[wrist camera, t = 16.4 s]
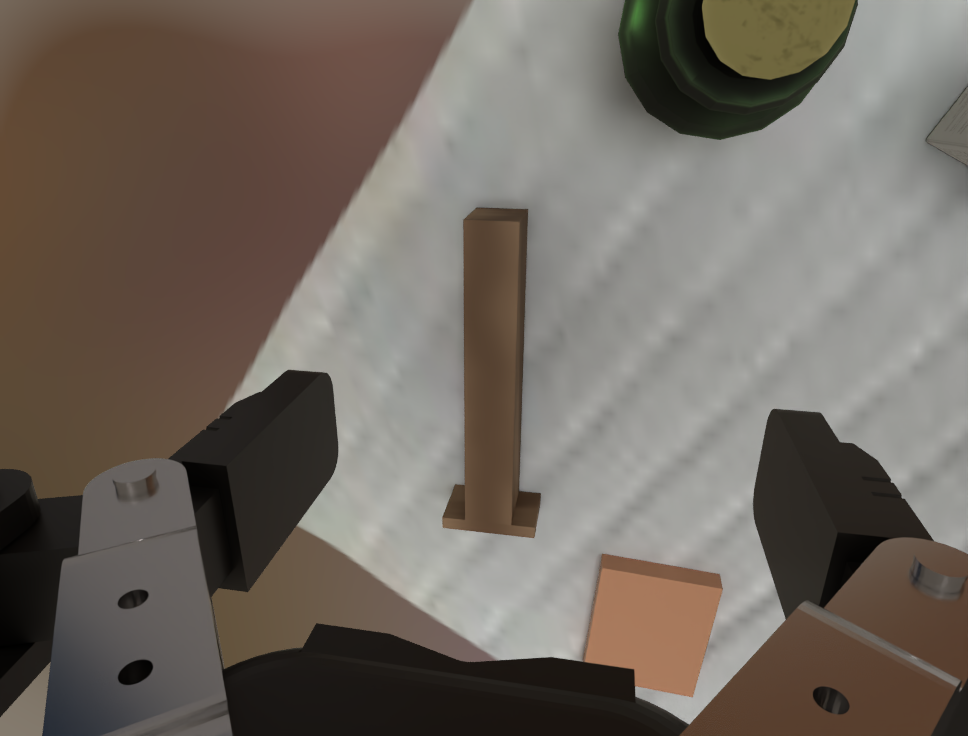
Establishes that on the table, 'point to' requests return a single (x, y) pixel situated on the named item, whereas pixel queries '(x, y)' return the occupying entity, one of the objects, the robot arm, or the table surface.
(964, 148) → the skincare box
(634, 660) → the tile
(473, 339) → the wooden post on base
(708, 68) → the potion bottle
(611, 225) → the table surface
